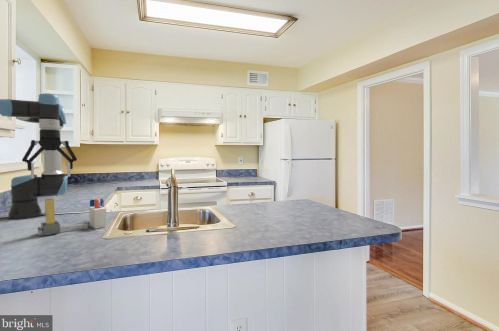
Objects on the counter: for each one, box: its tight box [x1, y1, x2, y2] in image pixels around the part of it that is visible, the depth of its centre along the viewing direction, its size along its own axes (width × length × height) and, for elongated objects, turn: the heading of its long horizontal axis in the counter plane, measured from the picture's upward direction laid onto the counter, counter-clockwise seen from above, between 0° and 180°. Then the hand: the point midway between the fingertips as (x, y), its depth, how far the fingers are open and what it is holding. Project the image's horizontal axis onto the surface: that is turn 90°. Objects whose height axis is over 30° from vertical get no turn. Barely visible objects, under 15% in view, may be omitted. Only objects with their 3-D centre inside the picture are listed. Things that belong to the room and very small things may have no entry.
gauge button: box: [94, 199, 100, 209], centre depth 145 cm, size 3×3×8 cm
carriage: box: [40, 198, 61, 236], centre depth 132 cm, size 8×6×15 cm
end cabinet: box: [88, 206, 107, 229], centre depth 145 cm, size 10×5×9 cm, turn 42°
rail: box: [37, 220, 88, 237], centre depth 136 cm, size 3×19×3 cm, turn 132°
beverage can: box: [89, 197, 105, 208], centre depth 155 cm, size 6×6×12 cm
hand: (51, 177), depth 132 cm, fingers open, 13 cm apart
